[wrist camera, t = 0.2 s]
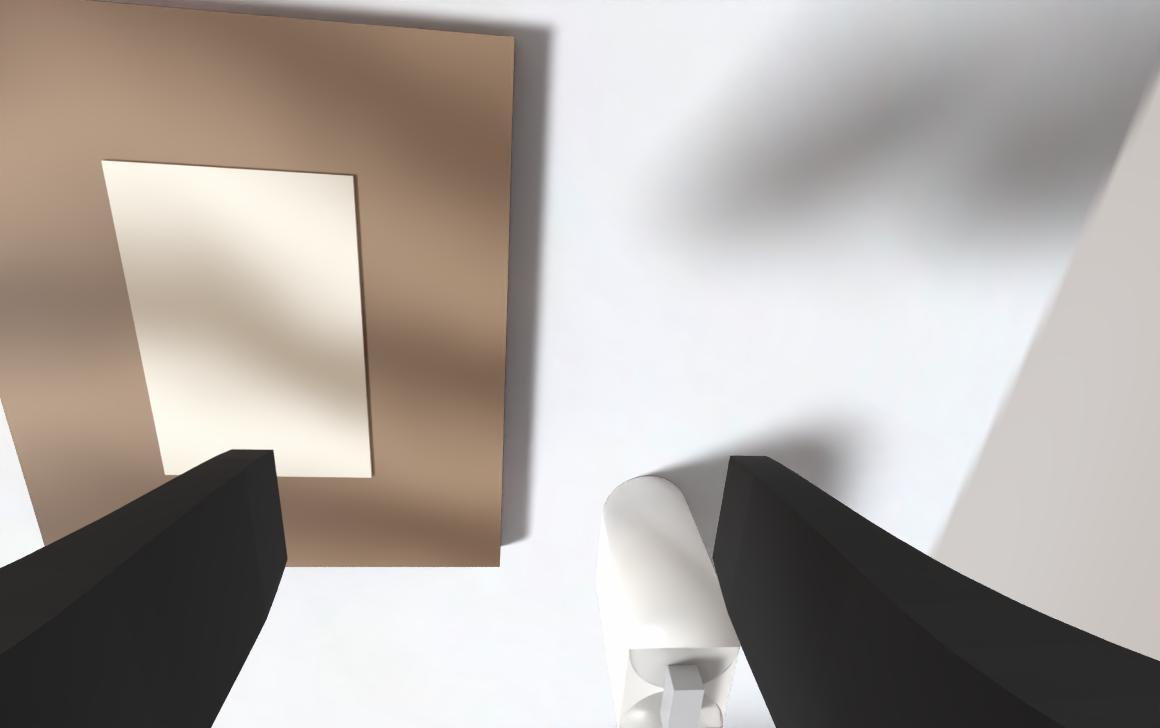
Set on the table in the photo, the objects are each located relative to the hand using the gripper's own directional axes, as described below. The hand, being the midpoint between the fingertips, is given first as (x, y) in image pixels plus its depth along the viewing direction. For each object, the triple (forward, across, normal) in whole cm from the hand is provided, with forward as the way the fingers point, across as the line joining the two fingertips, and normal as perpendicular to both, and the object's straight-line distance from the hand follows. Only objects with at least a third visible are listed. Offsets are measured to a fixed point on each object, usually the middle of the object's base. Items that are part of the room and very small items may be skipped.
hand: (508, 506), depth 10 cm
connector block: (+10, -5, +8) cm, 14 cm away
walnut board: (+10, +7, 0) cm, 12 cm away
